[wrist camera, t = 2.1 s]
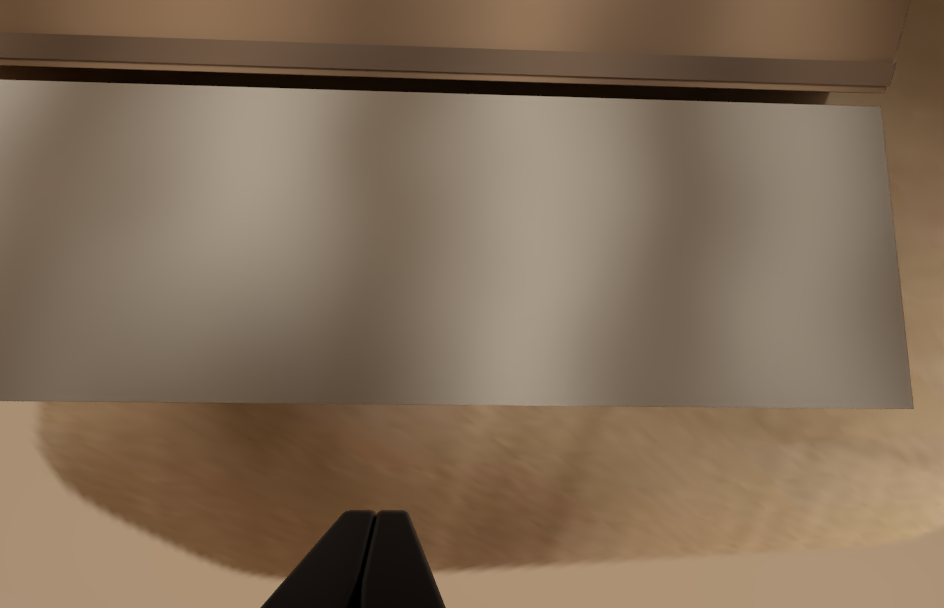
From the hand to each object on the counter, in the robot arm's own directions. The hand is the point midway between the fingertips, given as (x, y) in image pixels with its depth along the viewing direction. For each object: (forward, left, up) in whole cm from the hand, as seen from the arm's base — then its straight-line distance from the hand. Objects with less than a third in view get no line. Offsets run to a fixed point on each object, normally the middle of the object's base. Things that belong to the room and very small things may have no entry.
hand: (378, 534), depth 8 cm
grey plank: (0, -2, -8) cm, 8 cm away
